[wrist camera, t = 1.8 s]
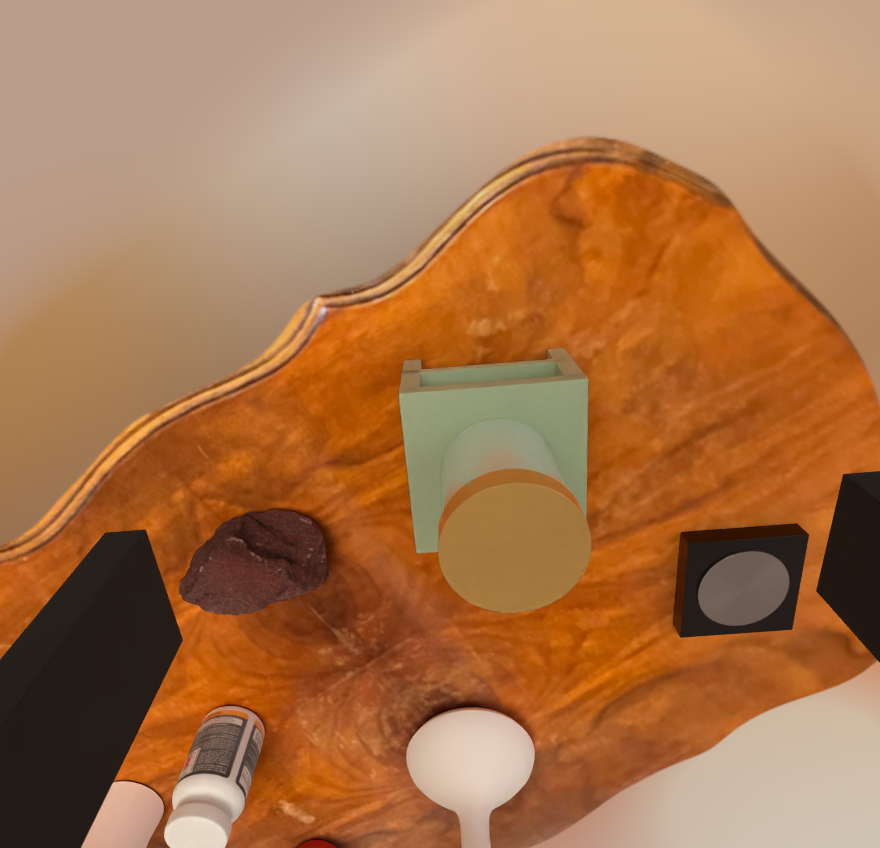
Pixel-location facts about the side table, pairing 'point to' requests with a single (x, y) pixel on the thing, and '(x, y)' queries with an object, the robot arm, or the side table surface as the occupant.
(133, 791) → the cup
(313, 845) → the apple
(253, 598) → the rock
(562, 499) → the jar
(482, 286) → the side table surface
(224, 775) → the pill bottle
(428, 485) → the shelf
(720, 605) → the hot plate
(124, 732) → the robot arm
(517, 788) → the flower in vase
